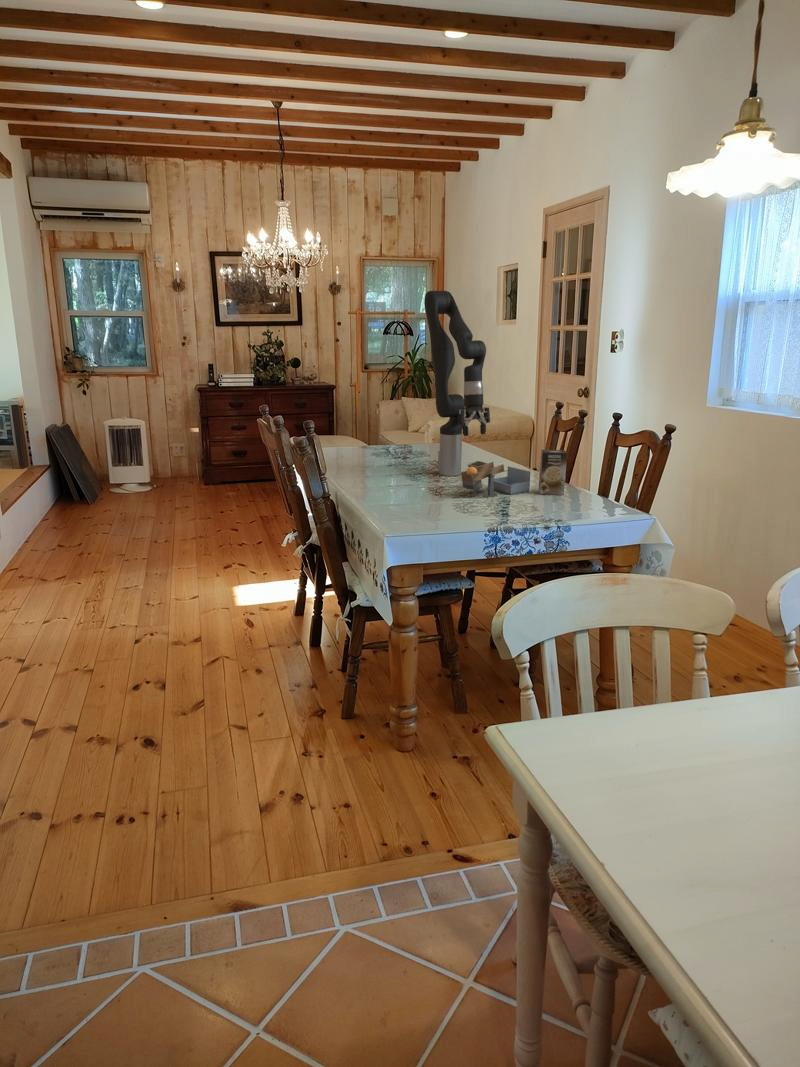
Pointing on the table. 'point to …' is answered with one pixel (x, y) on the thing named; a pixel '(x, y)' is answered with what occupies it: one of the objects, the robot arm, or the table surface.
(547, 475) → the coffee box
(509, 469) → the bin
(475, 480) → the lever chute
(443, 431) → the robot arm
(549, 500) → the table surface
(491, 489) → the lever stand
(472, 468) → the ball
